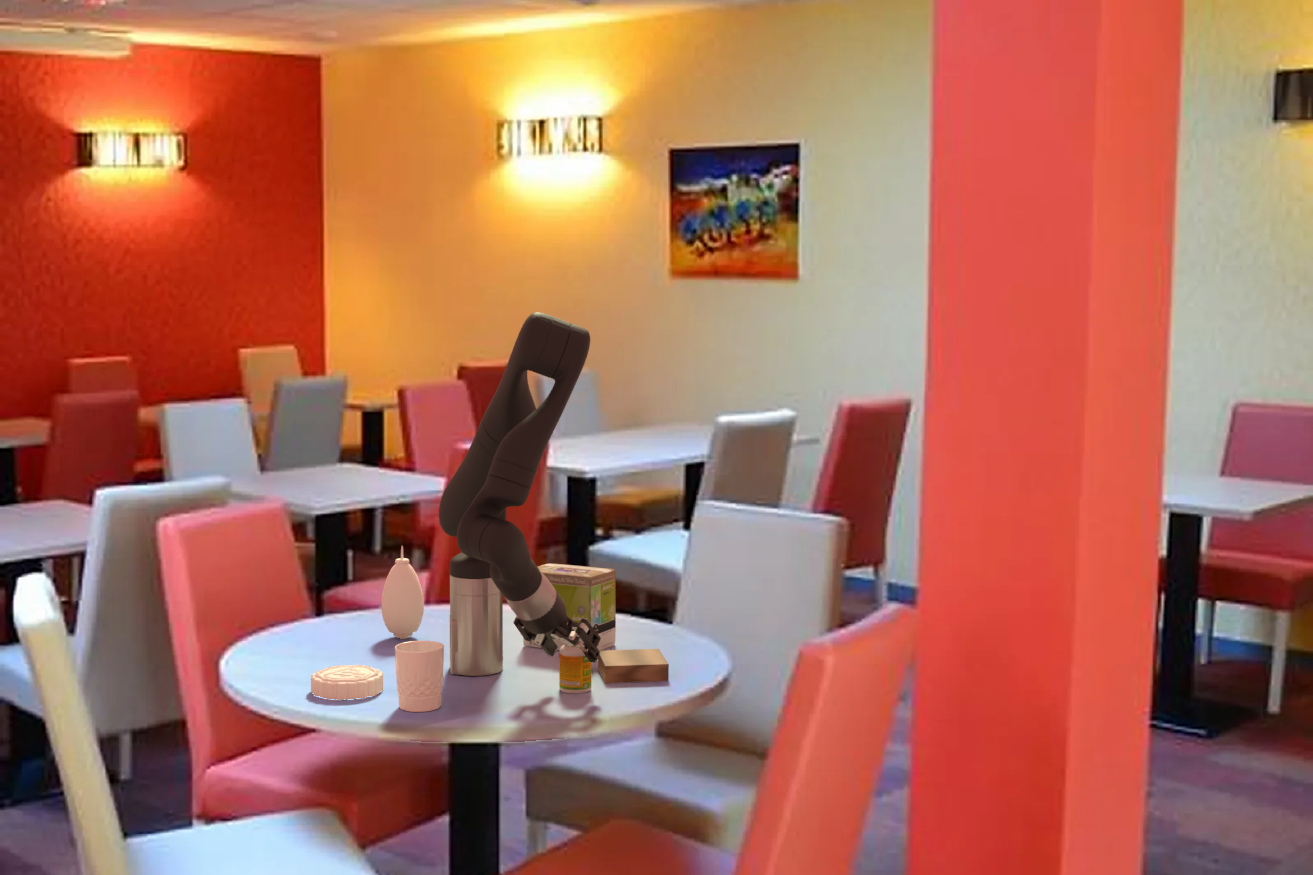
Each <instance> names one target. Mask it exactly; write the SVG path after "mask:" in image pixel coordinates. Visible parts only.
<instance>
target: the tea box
mask: <svg viewBox="0 0 1313 875" xmlns="http://www.w3.org/2000/svg"><path fill="white" fill-rule="evenodd" d="M537 567H538V569H539V570H540V571H541V572H542V573H543V574H544V575H545V576H546V577H547V579H548V580H549V581H550V583H551V584H552V586H553V587H554V588H555V590H556V591H557V593H558V594H559V595H560V597H561V598H562V600H563V601H564V603H565V606H566V613H567V616H568V617H569V618H571V619H572V620H573V621H574V622H578V623H580V621H581V619H586V620H587V621H588V622H589V623H590V625H591V626H592V627H593V628H594V630H595V631H596V632H597V634H598V635H599V636H600V637H601V639H600V642H599V644H598V646H597V649H598V650H599V651H601V650H606V649H608V648H610V647H613V646H615V645H616V629H617V628H616V618H617V615H616V613H617V612H616V603H617V602H616V569H614V568H603V567H594V566H583V565H572V564H561V563H551V562H550V563H549V562H548V563H545V564H542V565H537ZM572 631H575V630H572ZM522 638H523V637H522ZM522 641H523V646H524V647H531V648H539V649H542V647H541V646H540V645H538V644H536V643H535V642H534V640H532V639H531V641H526V640H525V639H524V638H523V640H522ZM553 641H554V642H555V643H556V645H557V649H556V651H560V648H561V647H562V646H563V645H565V643H564V642H563V641H561V640H558V639H553Z"/></svg>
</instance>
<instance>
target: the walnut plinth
mask: <svg viewBox="0 0 1313 875" xmlns="http://www.w3.org/2000/svg"><path fill="white" fill-rule="evenodd" d="M599 652H600V654H599V656H598V658H597V668H598V671H599V673H600V675H601V677H602V679H603V681H604V683H605V684H617V683H618V684H619V683H621V684H622V683H649V682H652V683H653V682H668V681H669V678H670V677H669V672H670V670H669V667H670V666H669V663H668V661H667V659H666V657H665V656H664V654H663V653H662V651H661V649H660V648H644V649H643V648H642V649H641V648H640V649H637V648H636V649H610V650H609V649H608V650H606V649H604V650H601V651H599Z"/></svg>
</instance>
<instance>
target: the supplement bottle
mask: <svg viewBox="0 0 1313 875" xmlns="http://www.w3.org/2000/svg"><path fill="white" fill-rule="evenodd" d="M574 634H575V631H572V632H571V634H570V636H569V639H570V640H572V638H573V636H574ZM579 642H580V643H582V644H583V643H584V642H583V641H582V640H581V638H579ZM558 680H559V682H558V684H559V690H560V691H561V692H563V693H566V694H584V693H588V692H589V691H591V690H592V662H590V661H589V660H588V658H587V657H586V656H585V654H584V653H583V652H582V650H581V649H579V648H577V647H576V646H573V647H571V646H569V645H567V644H566V643H565V645H563V646H562V647H561V648H560V650H559V679H558Z"/></svg>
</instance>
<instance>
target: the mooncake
mask: <svg viewBox="0 0 1313 875" xmlns="http://www.w3.org/2000/svg"><path fill="white" fill-rule="evenodd" d="M380 691H383V692H384V672H382V671H381V670H380V669H379V668H374V667H371V666H370V665H363V664H353V665H351V664H350V665H348V664H347V665H346V664H345V665H344V664H340V665H339V664H338V665H336V666H335V665H333V666H328V667H326V668H323V669H320V670H316V671H315V672H314V673H312V674H311V676H310V693H311V692H312V693H314V695H315V696H320V697H323V698H327V699H338V700H344V699H356V698H365V697H367V696H374V697H375V696H378V695H377V694H379V693H380ZM380 694H381V693H380ZM380 694H379V695H380ZM314 695H313V696H314ZM327 699H326V700H327Z"/></svg>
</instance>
